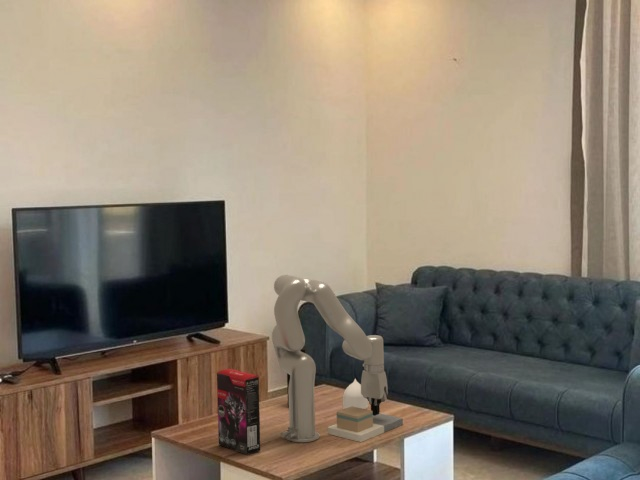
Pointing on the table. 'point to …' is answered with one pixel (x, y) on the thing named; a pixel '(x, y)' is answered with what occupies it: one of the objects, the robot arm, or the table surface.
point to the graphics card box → (238, 411)
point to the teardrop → (354, 396)
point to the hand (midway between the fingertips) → (375, 414)
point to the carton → (354, 419)
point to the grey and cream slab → (379, 426)
